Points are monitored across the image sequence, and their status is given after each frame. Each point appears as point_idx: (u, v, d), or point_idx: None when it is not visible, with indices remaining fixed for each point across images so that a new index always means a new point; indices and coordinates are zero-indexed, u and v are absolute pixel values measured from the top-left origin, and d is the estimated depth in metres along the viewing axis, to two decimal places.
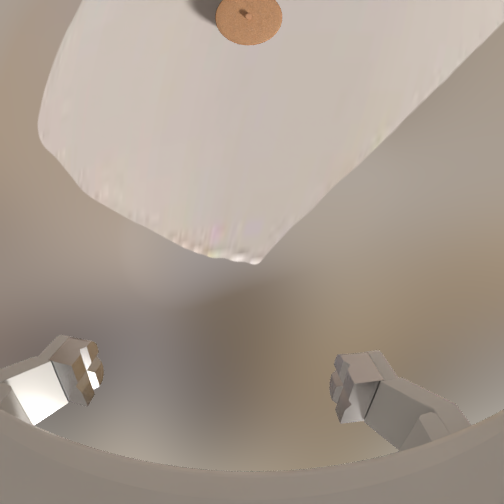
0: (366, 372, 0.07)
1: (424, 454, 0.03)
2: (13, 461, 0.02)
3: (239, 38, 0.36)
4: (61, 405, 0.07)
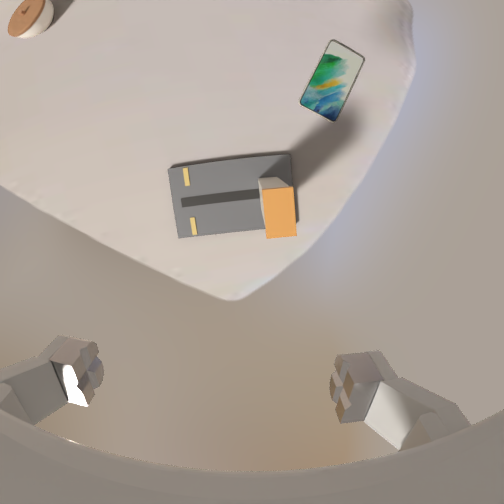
0: (366, 372, 0.07)
1: (424, 454, 0.03)
2: (13, 461, 0.02)
3: (12, 18, 0.25)
4: (61, 405, 0.07)
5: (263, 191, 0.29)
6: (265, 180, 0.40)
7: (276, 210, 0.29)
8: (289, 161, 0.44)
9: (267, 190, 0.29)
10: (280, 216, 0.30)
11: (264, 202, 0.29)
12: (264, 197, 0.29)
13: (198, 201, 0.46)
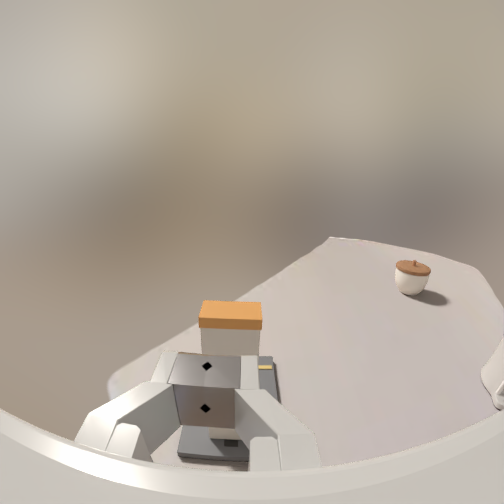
0: (224, 376, 0.07)
1: (424, 454, 0.03)
2: (13, 461, 0.02)
3: (410, 261, 0.75)
4: (174, 431, 0.07)
5: (258, 302, 0.26)
6: None
7: (235, 308, 0.25)
8: None
9: (259, 305, 0.25)
10: (227, 309, 0.24)
11: (246, 302, 0.26)
12: (252, 302, 0.26)
13: None
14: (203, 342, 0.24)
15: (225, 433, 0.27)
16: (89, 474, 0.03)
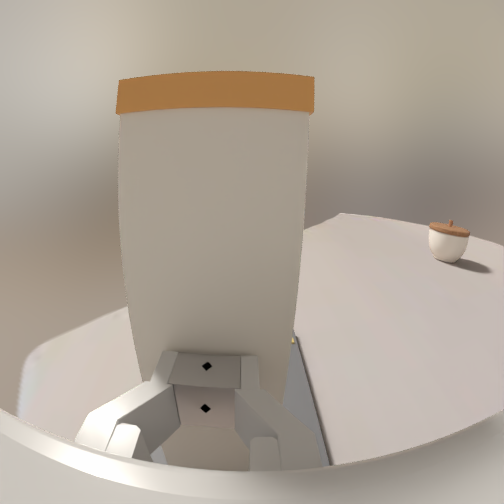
0: (224, 376, 0.07)
1: (424, 454, 0.03)
2: (13, 461, 0.02)
3: None
4: (174, 431, 0.07)
5: None
6: None
7: None
8: None
9: None
10: None
11: None
12: None
13: None
14: (124, 169, 0.07)
15: None
16: (89, 474, 0.03)
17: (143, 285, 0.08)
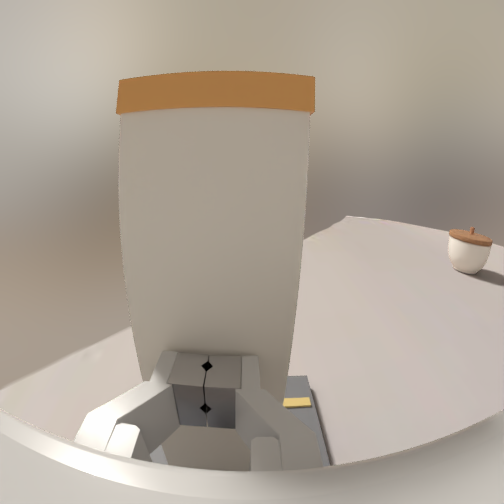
0: (225, 377, 0.07)
1: (424, 454, 0.03)
2: (13, 461, 0.02)
3: (463, 230, 0.51)
4: (173, 430, 0.07)
5: None
6: None
7: None
8: None
9: None
10: None
11: None
12: None
13: None
14: (124, 169, 0.07)
15: (206, 469, 0.11)
16: (89, 474, 0.03)
17: (143, 285, 0.08)
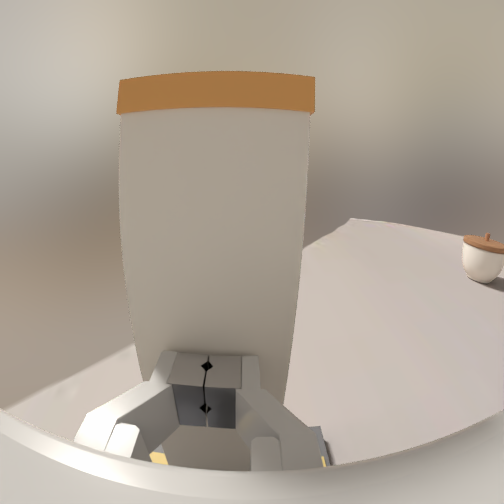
0: (225, 376, 0.07)
1: (424, 454, 0.03)
2: (13, 461, 0.02)
3: (477, 236, 0.46)
4: (173, 430, 0.07)
5: None
6: None
7: None
8: None
9: None
10: None
11: None
12: None
13: None
14: (125, 169, 0.07)
15: (206, 469, 0.11)
16: (89, 474, 0.03)
17: (144, 285, 0.08)
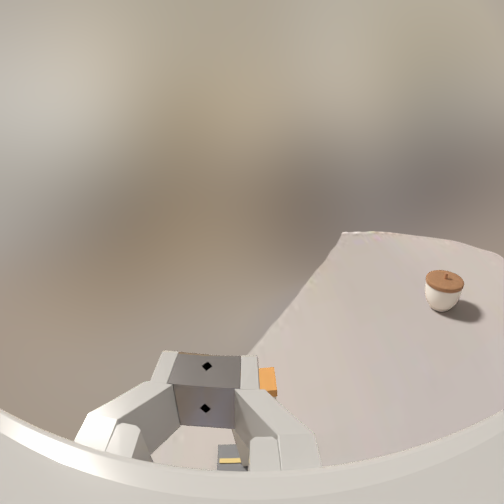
0: (224, 376, 0.07)
1: (424, 454, 0.03)
2: (13, 461, 0.02)
3: (440, 271, 0.62)
4: (174, 431, 0.07)
5: (272, 368, 0.27)
6: None
7: None
8: None
9: (273, 370, 0.27)
10: None
11: (260, 369, 0.27)
12: (266, 369, 0.27)
13: None
14: None
15: None
16: (89, 474, 0.03)
17: None
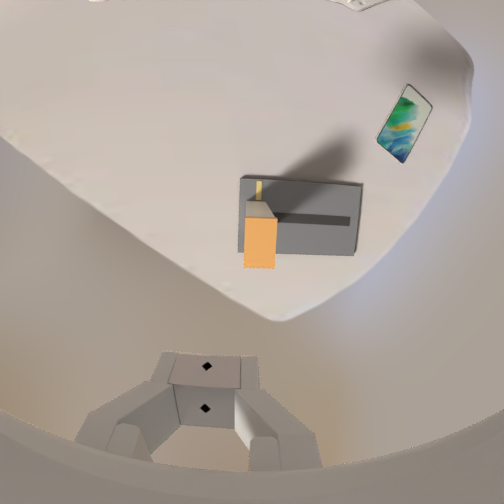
0: (224, 376, 0.07)
1: (424, 454, 0.03)
2: (13, 461, 0.02)
3: None
4: (174, 431, 0.07)
5: (246, 219, 0.28)
6: (252, 204, 0.40)
7: (257, 240, 0.29)
8: (359, 193, 0.45)
9: (250, 219, 0.28)
10: (260, 247, 0.29)
11: (245, 230, 0.29)
12: (246, 225, 0.29)
13: None
14: None
15: None
16: (89, 474, 0.03)
17: None
